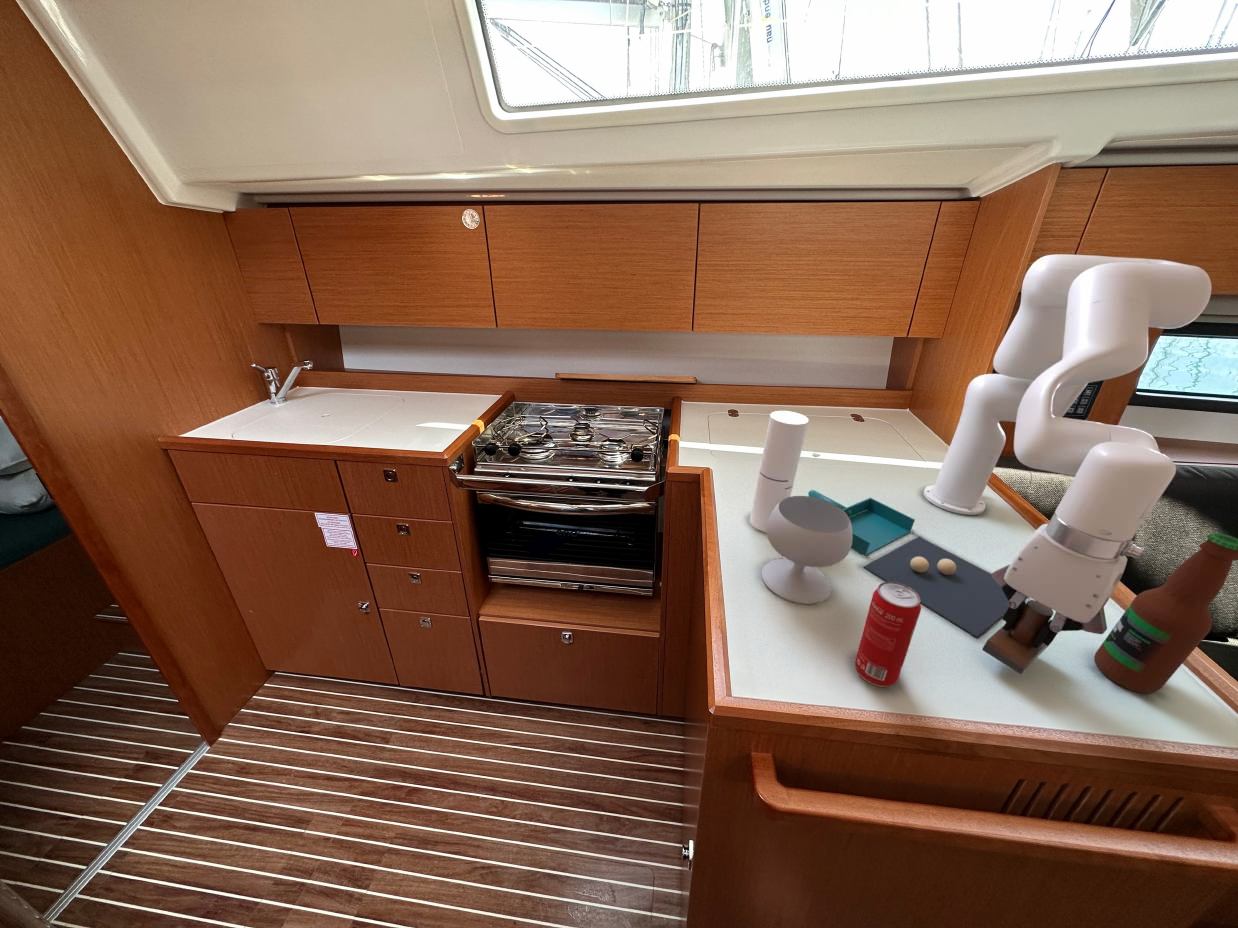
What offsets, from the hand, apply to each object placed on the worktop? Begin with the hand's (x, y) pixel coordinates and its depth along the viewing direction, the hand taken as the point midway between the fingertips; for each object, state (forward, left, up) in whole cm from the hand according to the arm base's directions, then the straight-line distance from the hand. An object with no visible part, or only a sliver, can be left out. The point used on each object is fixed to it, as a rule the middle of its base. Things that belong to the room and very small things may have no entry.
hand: (1023, 634), depth 70 cm
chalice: (+14, -29, -6) cm, 33 cm away
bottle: (-13, +10, -6) cm, 17 cm away
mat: (-11, -15, -6) cm, 19 cm away
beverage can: (+20, -10, -6) cm, 23 cm away
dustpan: (-13, -37, -6) cm, 39 cm away
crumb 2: (-13, -16, -4) cm, 21 cm away
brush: (0, 0, -3) cm, 3 cm away
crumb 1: (-9, -19, -4) cm, 21 cm away
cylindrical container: (+4, -45, -6) cm, 45 cm away
